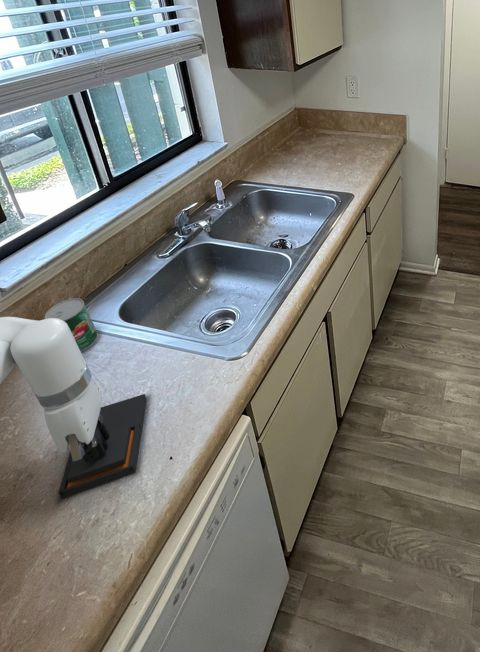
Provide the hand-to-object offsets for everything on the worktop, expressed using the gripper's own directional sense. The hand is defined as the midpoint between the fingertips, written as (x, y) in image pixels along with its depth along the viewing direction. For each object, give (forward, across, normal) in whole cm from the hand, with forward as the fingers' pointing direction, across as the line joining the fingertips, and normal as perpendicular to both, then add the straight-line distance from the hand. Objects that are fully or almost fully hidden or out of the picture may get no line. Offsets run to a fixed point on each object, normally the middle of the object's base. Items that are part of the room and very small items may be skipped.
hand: (98, 448), depth 83 cm
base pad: (+4, -4, 0) cm, 5 cm away
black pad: (+2, 0, 0) cm, 2 cm away
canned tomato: (+4, -36, -12) cm, 38 cm away
